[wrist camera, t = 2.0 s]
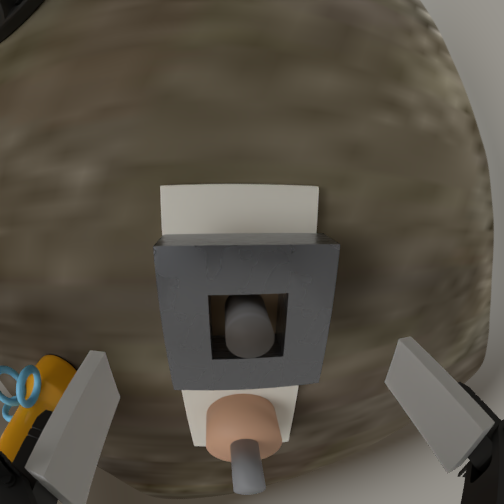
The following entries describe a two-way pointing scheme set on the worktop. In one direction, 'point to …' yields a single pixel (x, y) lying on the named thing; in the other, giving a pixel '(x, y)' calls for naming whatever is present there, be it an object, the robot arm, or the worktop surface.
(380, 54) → the worktop surface
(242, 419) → the peg
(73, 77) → the worktop surface
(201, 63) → the worktop surface
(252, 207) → the board
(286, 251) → the square frame with hole
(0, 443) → the tube with blue rings
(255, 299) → the stand
